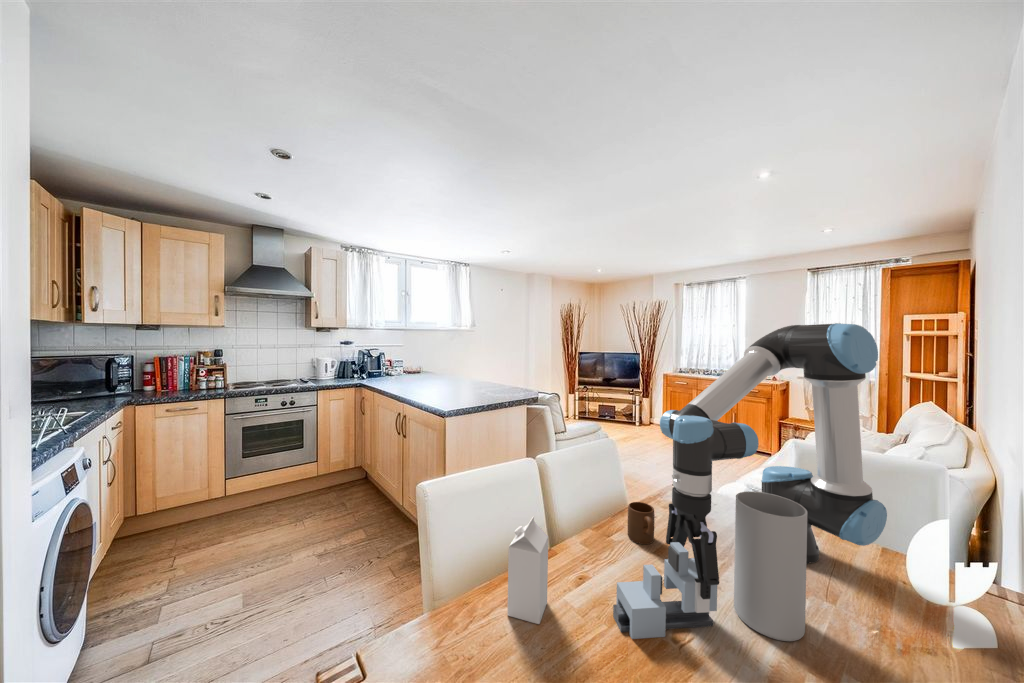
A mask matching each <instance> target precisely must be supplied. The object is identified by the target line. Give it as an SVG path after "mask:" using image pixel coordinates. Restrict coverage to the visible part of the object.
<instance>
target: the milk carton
mask: <svg viewBox="0 0 1024 683" xmlns="http://www.w3.org/2000/svg"><path fill="white" fill-rule="evenodd" d="M514 534H515V536H514V537H513V540H511V543H510V544H509V545H508V555H507V556H508V558H507V559H508V563H507V565H508V566H507V568H508V569H507V572H508V573H507V575H508V576H507V616H508V617H511V618H515V619H519V620H521V621H525V622H529V623H533V624H536V625H540V624H541V622H542V618H543V615H544V612H545V610H546V607H547V604H548V580H549V579H548V576H549V575H548V574H549V573H548V572H549V571H548V570H549V568H548V565H549V535H548V534H547V533H546V532H545V531H544V530H543V529H542V528H541V526H540V525H539V524H538V523H537V522H536V521H535V516H534V515H533V516H532V517H531V519H530V520H529V522H528V524H526V525H525V526H523V525H519V526H518V527H517V528H516V529H515V530H514Z"/></svg>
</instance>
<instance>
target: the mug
mask: <svg viewBox="0 0 1024 683" xmlns="http://www.w3.org/2000/svg"><path fill="white" fill-rule="evenodd" d="M627 536H628V538H629V540H631V541H633V542H634V543H637V544H640V545H649V544H652V543H653V542H654V539H655V508H654V507H653V506H652V505H650V504H648V503H646V502H640V501H633V502H629V504H628V506H627Z"/></svg>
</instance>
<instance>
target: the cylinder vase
mask: <svg viewBox="0 0 1024 683" xmlns="http://www.w3.org/2000/svg"><path fill="white" fill-rule="evenodd" d="M734 515H735V517H734V518H735V522H734V524H735V526H734V567H733V568H734V569H733V570H734V571H733V572H734V574H733V575H734V576H733V578H734V579H733V608H734V610H735V612H736V615H737V616H738V617H739V619H740V620H741V621H742V622H743V623H744V624H746V625H747V626H748V627H749V628H751V630H753V631H756V632H757V633H759V634H761V635H763V636H765V637H768V638H769V639H774V640H777V641H783V642H793V641H795V642H796V641H798V640H800V639H802V638H803V637H804V635H805V633H806V606H807V605H806V603H807V600H806V598H807V596H806V595H807V563H806V560H807V510H806V509H805V508H804V507H803V506H802V505H800V504H798V503H796V502H794V501H792V500H790V499H787V498H784V497H781V496H777V495H773V494H769V493H763V492H762V491H741V492H738V493H736V495H735V514H734Z"/></svg>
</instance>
